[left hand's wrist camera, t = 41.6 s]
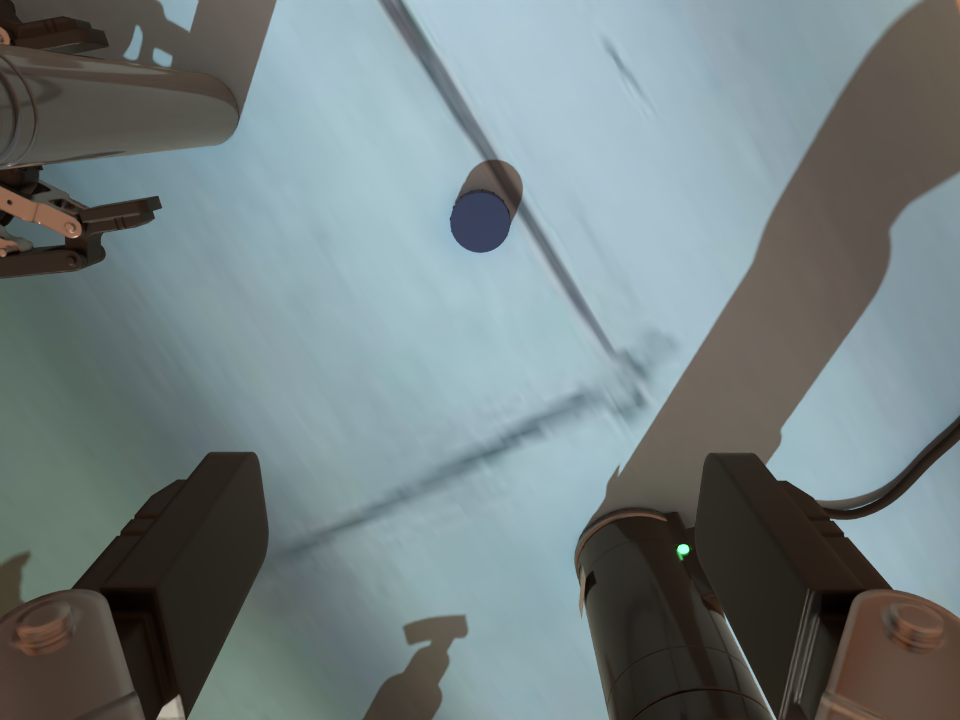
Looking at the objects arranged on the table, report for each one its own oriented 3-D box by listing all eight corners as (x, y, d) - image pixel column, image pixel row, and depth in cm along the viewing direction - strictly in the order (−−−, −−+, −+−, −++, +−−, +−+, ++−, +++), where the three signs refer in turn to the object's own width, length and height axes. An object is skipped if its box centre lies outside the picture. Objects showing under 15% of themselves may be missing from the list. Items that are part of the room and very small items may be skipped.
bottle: (207, 59, 40) (-196, -25, 16) (252, 120, 41) (-59, 126, 17) (157, 100, 40) (-297, 79, 17) (203, 159, 42) (-158, 216, 18)
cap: (469, 258, 44) (469, 263, 43) (440, 208, 43) (438, 211, 41) (519, 230, 43) (521, 234, 42) (491, 178, 42) (492, 180, 41)
